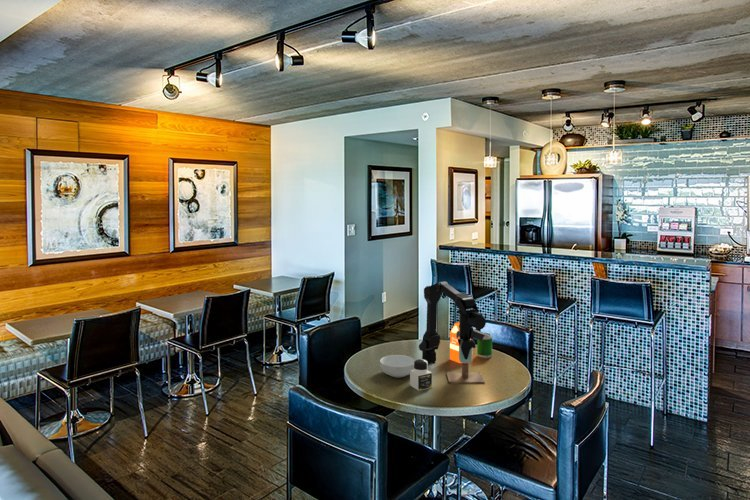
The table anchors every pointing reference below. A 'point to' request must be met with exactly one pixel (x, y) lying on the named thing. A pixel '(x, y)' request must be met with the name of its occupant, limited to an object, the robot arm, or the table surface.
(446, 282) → the robot arm
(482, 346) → the soda can
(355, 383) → the table surface
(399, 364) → the cereal bowl
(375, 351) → the table surface
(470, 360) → the pale teal block
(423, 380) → the medicine bottle
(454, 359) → the orange juice
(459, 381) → the wooden base plate
